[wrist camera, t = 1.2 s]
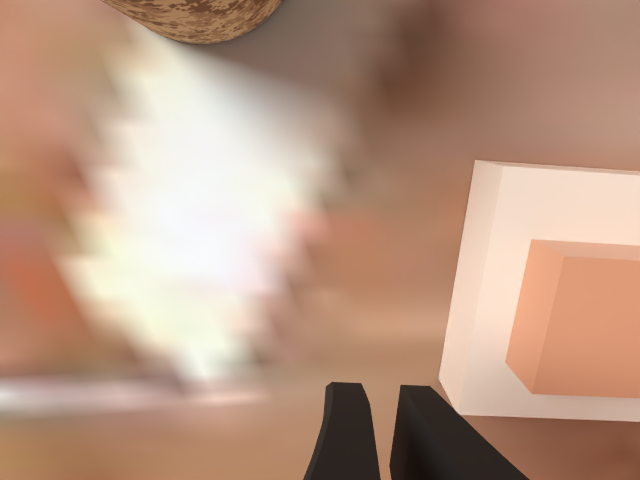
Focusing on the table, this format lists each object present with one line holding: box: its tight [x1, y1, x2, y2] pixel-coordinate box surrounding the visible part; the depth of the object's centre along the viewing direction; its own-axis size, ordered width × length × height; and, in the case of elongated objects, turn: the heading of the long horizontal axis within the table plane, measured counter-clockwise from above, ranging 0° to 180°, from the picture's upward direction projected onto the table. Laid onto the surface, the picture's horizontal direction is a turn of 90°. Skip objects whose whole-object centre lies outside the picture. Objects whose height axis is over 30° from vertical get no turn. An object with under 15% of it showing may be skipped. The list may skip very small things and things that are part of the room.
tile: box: [505, 239, 640, 398], centre depth 15 cm, size 5×7×2 cm
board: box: [439, 160, 640, 422], centre depth 17 cm, size 10×12×2 cm
